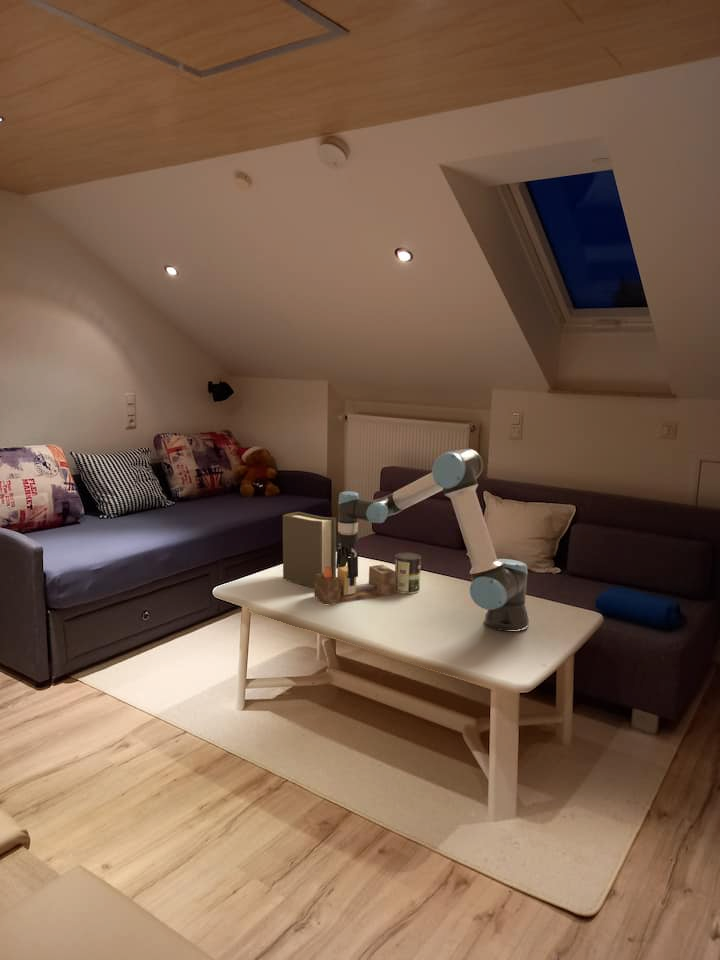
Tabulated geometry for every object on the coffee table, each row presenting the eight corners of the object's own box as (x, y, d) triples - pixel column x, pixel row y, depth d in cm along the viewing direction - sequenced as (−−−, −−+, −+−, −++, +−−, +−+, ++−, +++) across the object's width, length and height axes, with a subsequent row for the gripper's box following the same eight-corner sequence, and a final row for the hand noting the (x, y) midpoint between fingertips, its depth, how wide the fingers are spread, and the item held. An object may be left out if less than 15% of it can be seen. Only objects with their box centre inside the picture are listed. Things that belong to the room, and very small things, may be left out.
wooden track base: (381, 586, 287) (382, 563, 285) (394, 593, 278) (395, 570, 277) (314, 596, 273) (314, 572, 271) (325, 604, 264) (326, 580, 262)
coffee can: (418, 586, 288) (420, 552, 286) (420, 594, 278) (422, 560, 276) (393, 585, 289) (394, 551, 286) (394, 593, 278) (395, 559, 276)
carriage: (348, 588, 277) (349, 565, 275) (355, 593, 272) (356, 570, 270) (337, 590, 275) (337, 567, 273) (344, 595, 270) (344, 571, 268)
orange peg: (332, 583, 268) (333, 568, 267) (325, 584, 267) (325, 569, 265) (329, 581, 271) (329, 566, 269) (322, 582, 269) (322, 567, 268)
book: (281, 580, 292) (281, 513, 288) (298, 575, 299) (297, 510, 295) (319, 591, 278) (319, 521, 274) (335, 586, 285) (336, 517, 281)
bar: (372, 587, 280) (372, 582, 280) (375, 589, 278) (375, 584, 278) (333, 593, 272) (334, 588, 272) (336, 595, 270) (336, 590, 270)
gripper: (368, 537, 263) (366, 597, 267) (345, 525, 279) (343, 582, 283) (350, 539, 259) (349, 599, 263) (327, 527, 275) (326, 584, 280)
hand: (346, 590), depth 273 cm, fingers closed on carriage, 6 cm apart
